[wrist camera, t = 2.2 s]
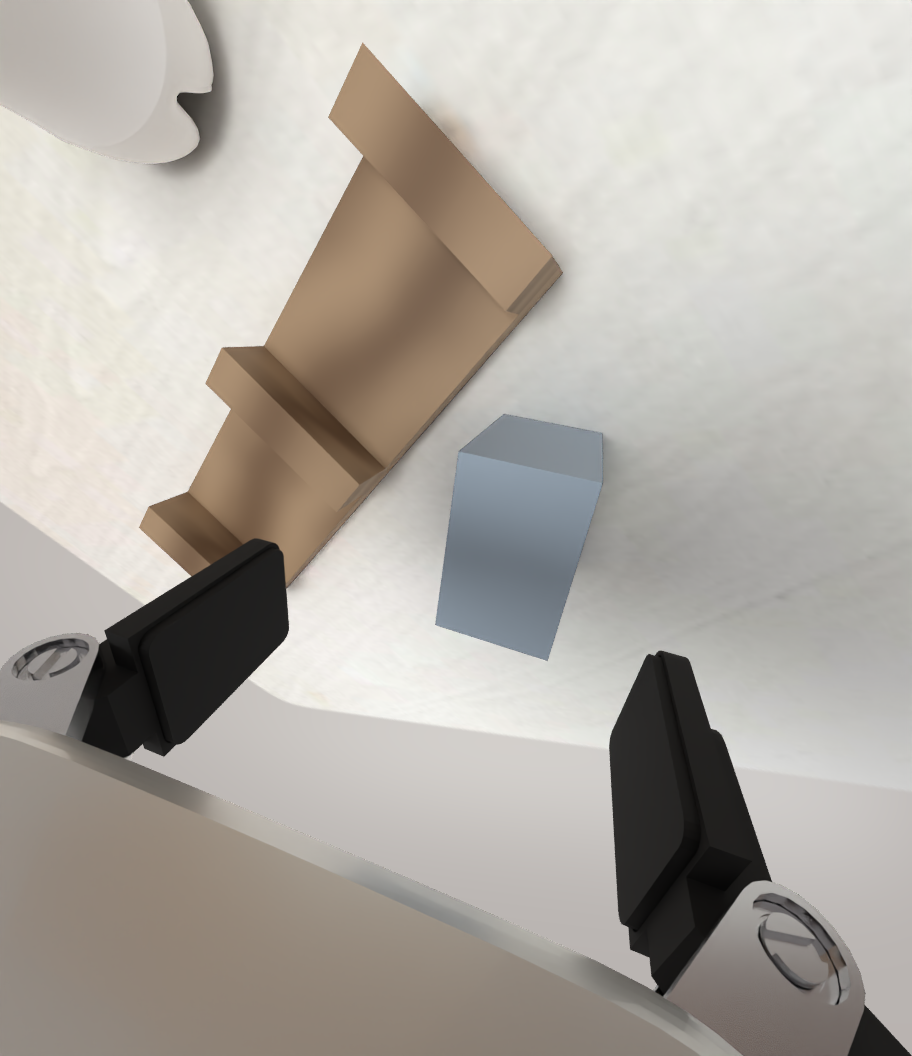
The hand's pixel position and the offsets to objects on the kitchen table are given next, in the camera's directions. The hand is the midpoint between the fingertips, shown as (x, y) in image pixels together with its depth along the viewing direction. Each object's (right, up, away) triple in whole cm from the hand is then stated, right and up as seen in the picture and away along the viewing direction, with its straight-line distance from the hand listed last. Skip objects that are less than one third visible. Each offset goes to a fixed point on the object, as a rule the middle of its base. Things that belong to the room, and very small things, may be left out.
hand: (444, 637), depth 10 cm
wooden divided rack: (-6, +8, +11) cm, 15 cm away
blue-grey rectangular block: (+4, +4, +10) cm, 11 cm away
